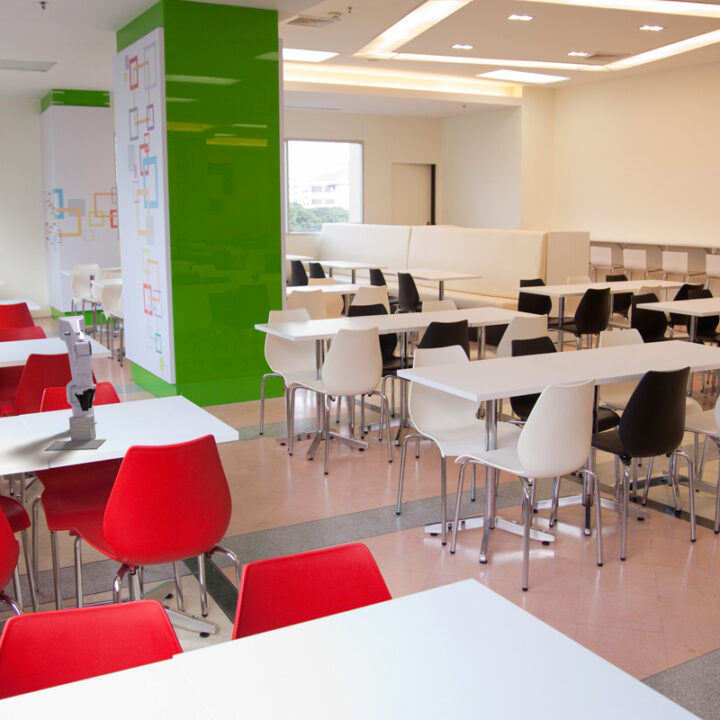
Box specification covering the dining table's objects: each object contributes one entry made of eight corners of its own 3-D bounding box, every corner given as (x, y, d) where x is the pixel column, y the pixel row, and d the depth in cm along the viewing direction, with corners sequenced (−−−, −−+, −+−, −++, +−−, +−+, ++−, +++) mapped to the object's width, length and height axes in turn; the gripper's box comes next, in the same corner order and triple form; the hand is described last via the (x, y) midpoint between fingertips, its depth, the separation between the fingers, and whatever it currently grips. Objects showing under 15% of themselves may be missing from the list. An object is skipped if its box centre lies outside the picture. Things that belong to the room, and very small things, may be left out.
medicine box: (96, 437, 307) (94, 414, 306) (91, 440, 303) (89, 417, 301) (75, 437, 308) (73, 414, 307) (70, 440, 304) (68, 417, 302)
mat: (56, 441, 302) (56, 441, 302) (106, 440, 303) (105, 439, 303) (44, 450, 290) (44, 449, 290) (96, 448, 291) (96, 448, 291)
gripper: (89, 377, 302) (92, 413, 304) (100, 370, 316) (103, 404, 318) (69, 377, 301) (72, 414, 304) (81, 370, 316) (84, 405, 318)
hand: (87, 409), depth 311 cm, fingers open, 4 cm apart
